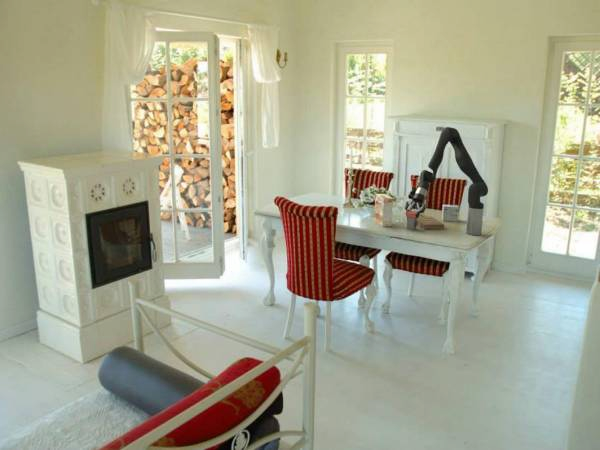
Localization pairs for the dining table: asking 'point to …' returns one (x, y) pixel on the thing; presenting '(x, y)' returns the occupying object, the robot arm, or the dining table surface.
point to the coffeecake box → (383, 210)
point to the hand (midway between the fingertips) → (411, 216)
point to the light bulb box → (450, 213)
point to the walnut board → (429, 223)
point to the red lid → (411, 214)
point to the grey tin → (411, 223)
